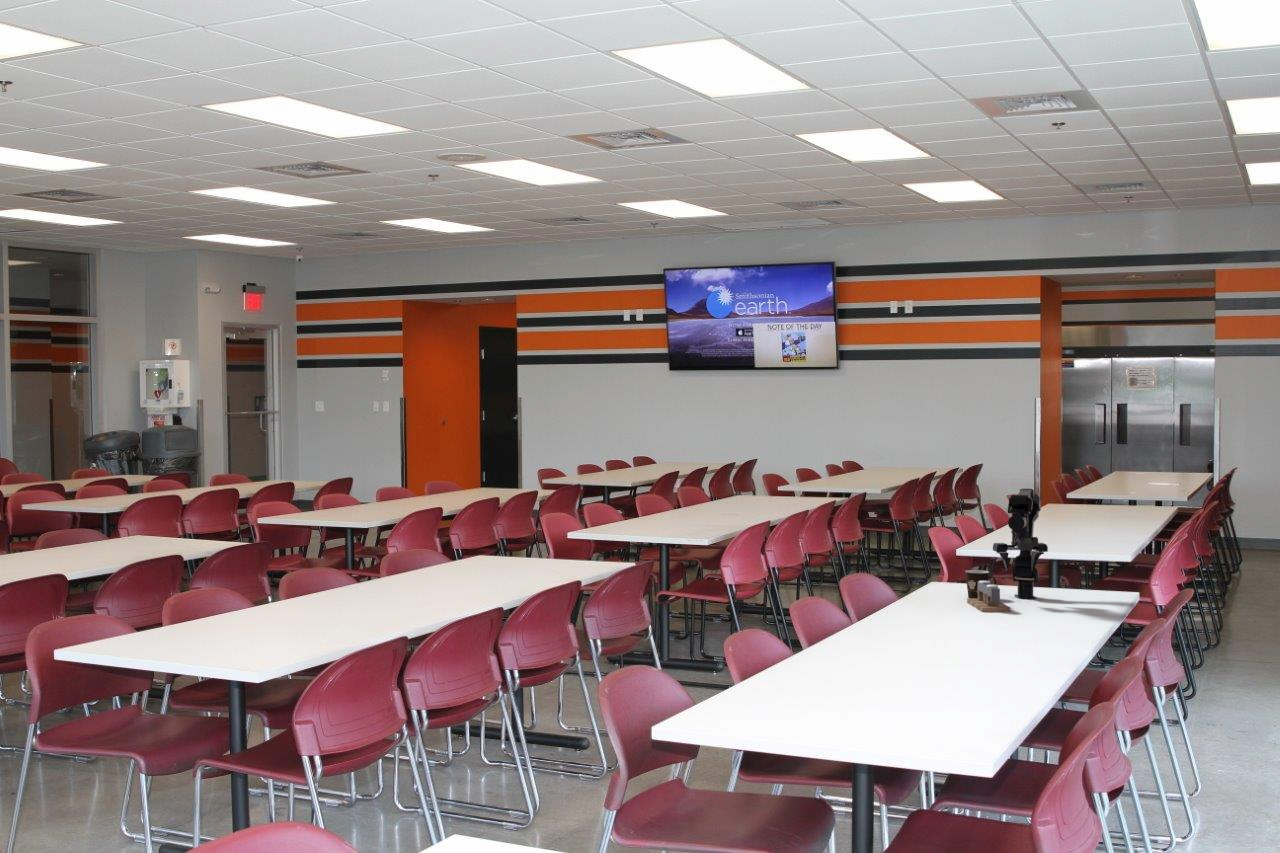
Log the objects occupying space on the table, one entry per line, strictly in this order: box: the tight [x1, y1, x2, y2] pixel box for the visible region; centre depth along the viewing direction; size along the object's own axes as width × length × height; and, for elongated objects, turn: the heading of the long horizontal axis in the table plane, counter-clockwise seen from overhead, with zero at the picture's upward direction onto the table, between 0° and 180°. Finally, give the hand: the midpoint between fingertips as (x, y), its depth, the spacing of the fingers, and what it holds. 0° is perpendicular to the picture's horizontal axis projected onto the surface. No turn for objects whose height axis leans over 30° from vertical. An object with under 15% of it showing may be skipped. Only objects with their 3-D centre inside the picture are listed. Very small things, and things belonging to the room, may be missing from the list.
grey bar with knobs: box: [978, 580, 1001, 602], centre depth 440 cm, size 18×4×5 cm, turn 0°
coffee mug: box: [964, 569, 997, 599], centre depth 459 cm, size 12×9×10 cm
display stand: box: [966, 591, 1011, 613], centre depth 440 cm, size 20×10×5 cm, turn 0°
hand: (1020, 570), depth 448 cm, fingers open, 9 cm apart
